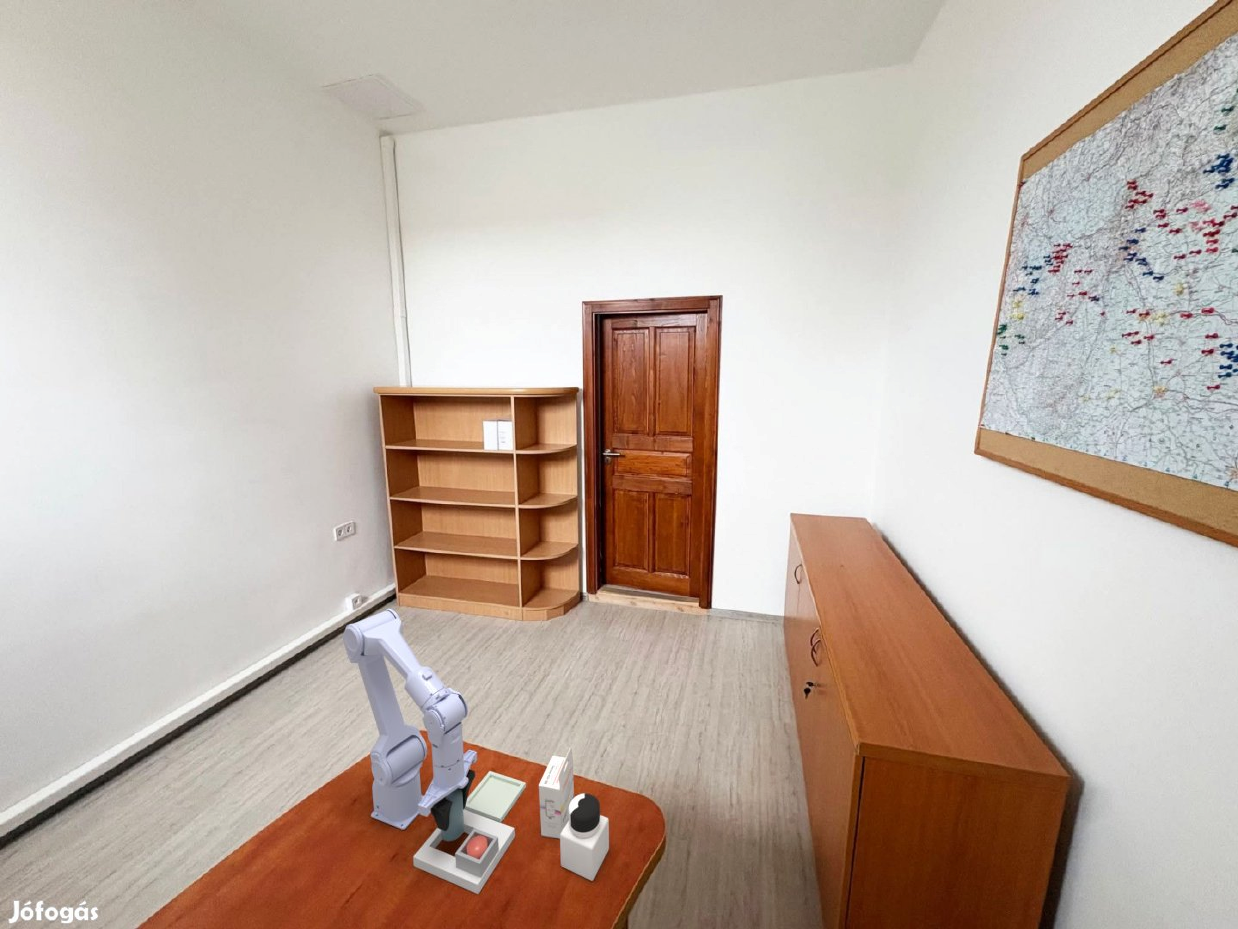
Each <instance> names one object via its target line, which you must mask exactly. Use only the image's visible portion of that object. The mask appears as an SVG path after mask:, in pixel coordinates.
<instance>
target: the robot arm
mask: <svg viewBox="0 0 1238 929" xmlns="http://www.w3.org/2000/svg"><path fill="white" fill-rule="evenodd" d="M403 631H404V630H403V622H402V620H401V618H400V616H399V614H398V613H397V611H395V610H394V609H391V608H387V609H384V610H383V611H381V612H379V613H376V614H374V615H371V616H369V617H366V618H364V619H361V620H359V621H357V622H354V623H350V624H347V625H346V626H345V629H344V632H343V635H342V641H343V644H344V648H345V651H346V654H347V655H346V656H347V658H348V659H349V662H350V664H357V665H358V666H357V667H358V669H359V673H360V675H361V676H360V677H361V679H362V681H363V685H364V688H365V689H364V690H365V693H366V695H367V698H368V700H369V704H370V709H371V711H372V715H373V717H374V721H375V723H376V726H377V727H376V728H377V730H378V734H379V737H378V738H377V740H376V742H375V743H374V745H373V746H372V748H371V750H370V751H369V755H370V761H371V772H372V776H373V778H374V780H373V783H372V799H373V811H372V813H371V814H370V817H371V818H373V819H376V820H378V821H380V822H383V823H385V824H387V825H391V826H393V827H394V828H397V829H400V830H406V829H407V828H408V827H409V825H411V823H413V821H414V820H415V819H416V818H417V817H418V816H419V815H421V816H423V817H427V818H428V817H429V815H430V814H431V815H432V817H433V819H434V822H435V823H436V826H437V827H436V828H438V829H441V830H443V831H447V830H448V828H449V814H450V809H451V805H452V803H453V802H452V801H449V800H447V799H446V797H445V796H447V795H448V794H450V793H451V792H453V791H454V790H456V789H457V788H461V790H462V797H463V810H464V808H465V806H466V802H467V798H468V797H469V793H470V790H471V786H472V784H473V781H474V780H475V778H476V771H475V770H473V769H471V767H472V764H475V763H476V762H477V761H478V754H477V753H478V752H477V751H475V750H471V749H468V750H467V751H466V752H465V753H464V740H463V722H462V721H463V720H465V719H466V718H467V716H468V713H469V712H468V711H469V710H468V705H467V702H466V700H465V697H464V696H463V695H462V694H461V693H460V692H459V691H457V690H454V689H452V687H450V686H449V687H447V686H446V685H445V684H444V682H443V681H442V680H441V679H440V678H439V677H438V675H437V674H436V672H435V670H433V669H432V668H431V667H430V666H422V665H421V663H420V662H419V660H418V658H417V657H416V656H415V653H414V652H413V651H412V649H411V648H410V645H408V642H407V641H406V640H405V637H404V636H403ZM385 659H386V660H387V661H388V662H389V663H390V665H392V666H393V668H395V670H396V671H397V672H398V673H399V674H400V675H401V676H402V677H403V679H405V683H404V690H405V691H406V692H407V694H408V695H409V697H410V698H411V700H412V701H413V702H414V703H415V704H416V706H417V707H418V709H419V711H421V712H422V714H423V716H422V722H423V725H424V728H425V729H426V732H427V733H426V734H427V739H428V741H429V742H430V743H431V744H430V745H431V758H432V775H433V778H432V780H431V781H430V784H429V786H428V788H427V790H426V792H425V793H424V795H423V794H422V788H421V786H422V785H421V774H420V771H421V770H420V769H421V767H423V761H424V760H425V759H426V758H427V755H428V744H427V743H426V741H425V739H424V737H423V736H422V734H421V731H420V730H419V728H418V726H416V725H413V724H407V723H405V720H404V717H403V714H402V711H401V709H400V705H399V701H398V698H397V695H396V691H395V688H394V686H393V683H392V678H391V677H390V676H391V675H390V674H389V669H388V667H387V664H386V663H387V662H386V660H385Z"/></svg>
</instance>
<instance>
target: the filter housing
mask: <svg viewBox="0 0 1238 929" xmlns="http://www.w3.org/2000/svg"><path fill="white" fill-rule="evenodd" d="M463 815H464V831H463V833H465V834H468V836H467V837H466V838H465V840H464V841H463V842H462V844H461V845H460V847H458V849H457V850H456V852H455V854H454V856H453V855H452V854H449V853H447V852H444V851H442V850H439V849H436V848H437V847H438V846H439V844H440V843H441V842H442V840H443V839H442V837H441V829H438V827H436V829H435V830H434V831H433V832H432V834H431V835H429V837H428V838H427V839H426V841H425V842H424V843H423V844H422V846H421V847H420V848H419V849H418V850H417V852H416V853H415V854H414V855H413V857H412V859H413V860H412V861H413V866H414V867H415V868H417V869H420V870H422V871H425V872H426V873H429V874H431V875H433V876H435V877H438V878H440V879H442V880H445V881H447V882H449V883H452V884H454V885H456V886H459V887H460V888H464V889H465V890H467V891H469V892H472V893H474V894H477V895H479V894H480V892H481V890H482V889H483V887H484V886H485V884H486V883H487V881H488V880H489V878H490V877H491V875H492V873H493V872H494V870H495V868H496V867H497V865H498V864H499V862H500V861H501V860H502V858H503V856H504V855H505V853H506V851H507V850H508V848H509V847H510V845H511V844H512V842H513V840H514V839H515V837H516V834H515V833H516V831H515V827H513V826H510V825H507V824H505V823H503V822H502V823H499V822H496V821H494V820H491V819H488V818H486V817H483V816H480V815H477V814H475V813H472V812H469V811H467V810H463ZM476 836H484V837H485V838H486V839H487V845H488V848H487V849H486V851H485V852H484V854H483V855H482V857H481V858H480V859H476V858H474V857H471V856H469V855H467V844H468V842H469V841H470V840H471V839H472V838H473V837H476Z"/></svg>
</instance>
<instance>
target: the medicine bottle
mask: <svg viewBox="0 0 1238 929" xmlns="http://www.w3.org/2000/svg"><path fill="white" fill-rule="evenodd" d="M600 808H601V805H600V801H599V800H598V798H597V797H596V796H595V795H593V794H591V793H585V792H584V793H579V794H578V795H576V796H574V798H573V799H572V801H571V802H570V804H569V821H568V822H567V824H566V826H565V827H564V829H563V830H562V832H561V833H560V839H559V845H560V846H559V848H560V866H561V867H562V868H565V869H567V870H568V871H570V872H572V873H574V874H577V875H579V876H580V877H582V878H585V879H587V880H589V881H591V882H593V881H594V880H595V879H596V878H595V877H596V875H597V874H598V872H599V870H600V868H601V866H602V864H603V861H604V860H605V858H606V856H607V854H608V852H609V849H610V834H609V833H610V830H609V828H610V827H609V826H610V825H609V824H610V823H609V822H610V820H609V818H608V817H606V816H604V815H601V809H600Z"/></svg>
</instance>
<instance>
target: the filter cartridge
mask: <svg viewBox="0 0 1238 929" xmlns="http://www.w3.org/2000/svg"><path fill="white" fill-rule="evenodd" d="M445 797H446V799H447V800H449V801H452V802H453V803H452V805H451V809H450V814H449V828H448V830H447V831H443V830H441V837H442V840H443V841H445V842H453V841H455V840H458V839H459V838H460V837H461V836H463V833H464V832H463V831H464V815H463V797H462V790H461V788H457V789H456V790H454V791H453V792H451V793H450V794H448V795H447V796H445Z"/></svg>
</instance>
